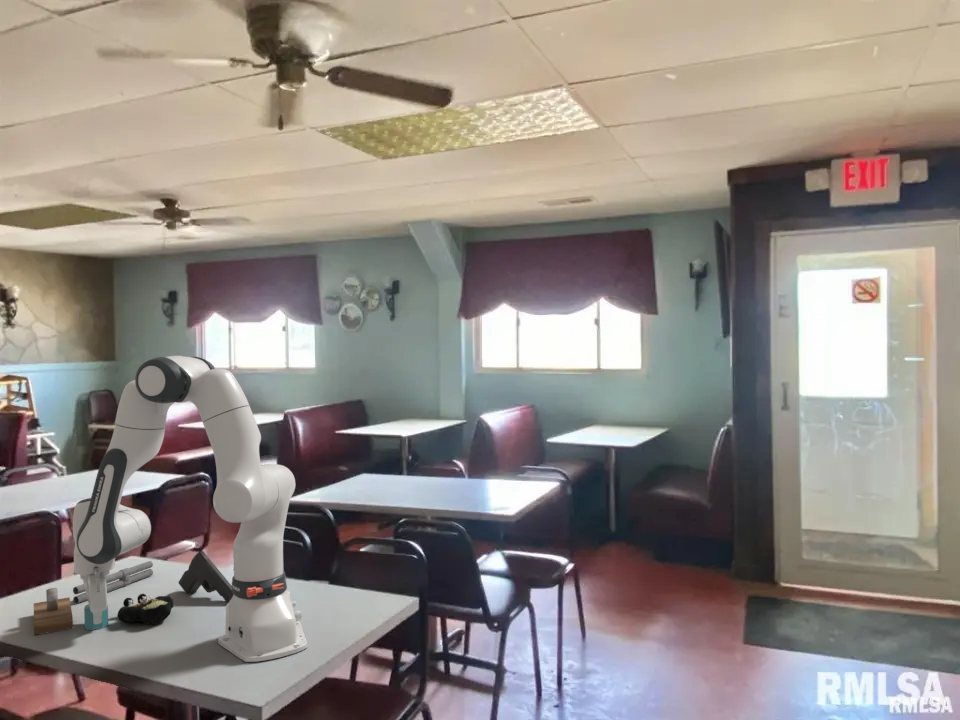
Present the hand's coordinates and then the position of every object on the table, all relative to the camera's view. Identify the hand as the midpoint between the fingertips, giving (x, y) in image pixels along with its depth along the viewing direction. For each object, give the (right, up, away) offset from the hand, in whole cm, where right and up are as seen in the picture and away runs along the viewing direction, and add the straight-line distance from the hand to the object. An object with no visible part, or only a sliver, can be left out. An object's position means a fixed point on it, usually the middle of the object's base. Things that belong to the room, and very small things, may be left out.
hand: (96, 619), depth 179 cm
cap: (0, -2, 0) cm, 2 cm away
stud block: (-13, -2, +4) cm, 14 cm away
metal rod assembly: (-9, -2, +28) cm, 30 cm away
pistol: (+20, -1, +20) cm, 28 cm away
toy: (+11, -2, +4) cm, 12 cm away
